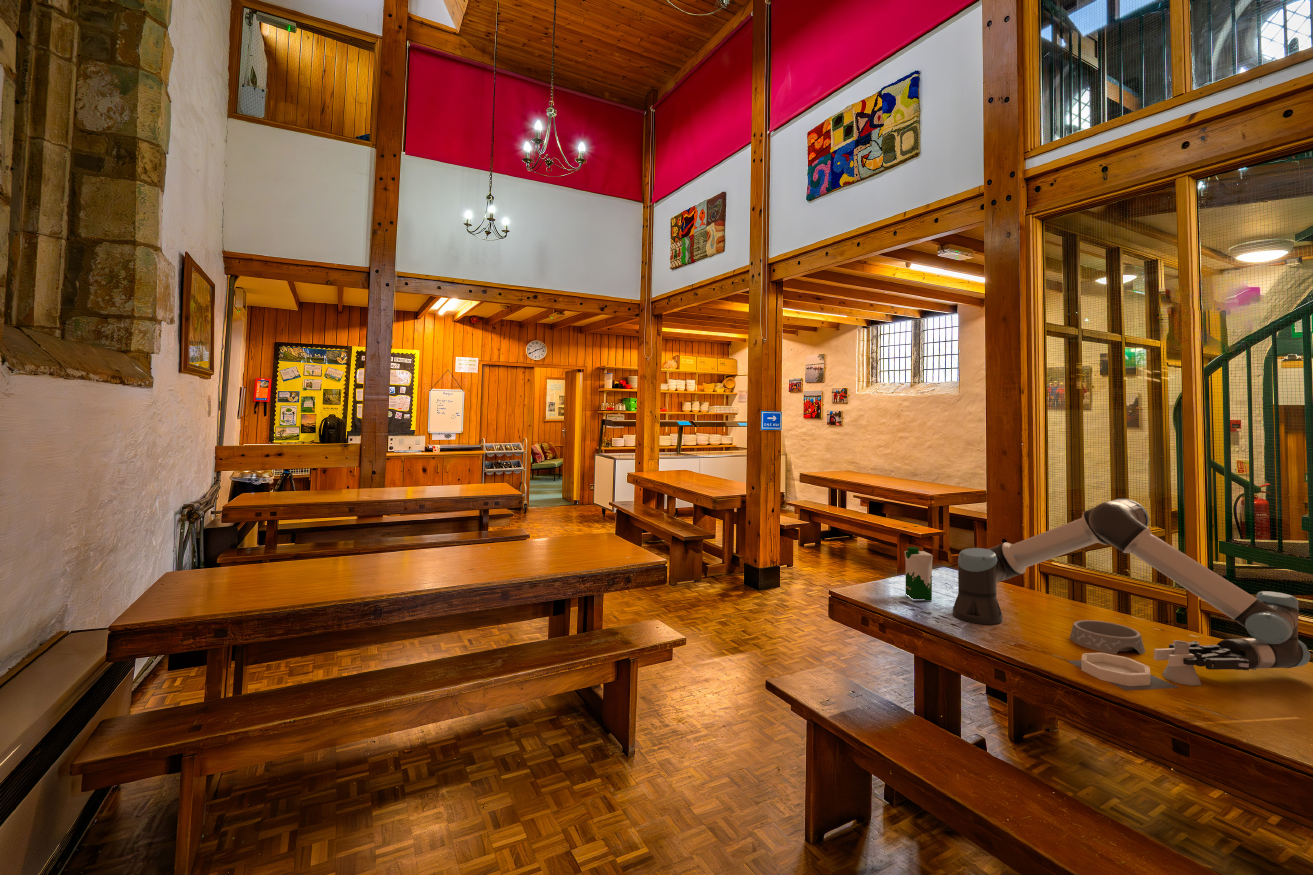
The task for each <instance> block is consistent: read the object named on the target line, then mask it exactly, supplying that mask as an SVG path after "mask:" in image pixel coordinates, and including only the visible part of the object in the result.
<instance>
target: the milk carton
mask: <svg viewBox="0 0 1313 875" xmlns="http://www.w3.org/2000/svg"><path fill="white" fill-rule="evenodd" d="M933 556H934V555H933V554H932V553H929V552H926V550H921V551H920V549H919V547H917V546H907V550H904V560H905V595H906V594H907V595H909V596H910V597H911V598H913V599H925V600H932V601H933V598H932V597H933V596H932V595H933V559H934V557H933Z"/></svg>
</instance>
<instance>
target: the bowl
mask: <svg viewBox="0 0 1313 875" xmlns="http://www.w3.org/2000/svg"><path fill="white" fill-rule="evenodd" d="M1080 660H1081V668H1080V670H1081V671H1082V672H1084V673H1085V674H1088V675H1089V676H1092V677H1094V678H1096V679H1098V680H1100V681H1104V682H1107V681H1108V683H1109V682H1113V683H1117V684H1122V685H1126V686H1142V685H1150V674H1151V669H1150V666H1148V665H1147V664H1144V663H1142V662H1140V661H1138V660H1135V659H1132V658H1130V657H1127V656H1122V655H1117V654H1112V653H1106V652H1086V653H1084V652H1083V653H1082V655H1081V659H1080Z"/></svg>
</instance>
